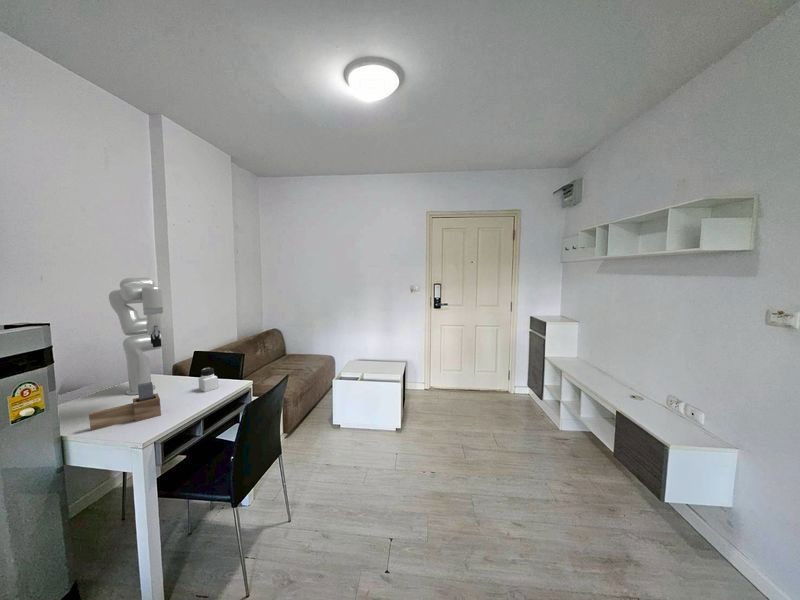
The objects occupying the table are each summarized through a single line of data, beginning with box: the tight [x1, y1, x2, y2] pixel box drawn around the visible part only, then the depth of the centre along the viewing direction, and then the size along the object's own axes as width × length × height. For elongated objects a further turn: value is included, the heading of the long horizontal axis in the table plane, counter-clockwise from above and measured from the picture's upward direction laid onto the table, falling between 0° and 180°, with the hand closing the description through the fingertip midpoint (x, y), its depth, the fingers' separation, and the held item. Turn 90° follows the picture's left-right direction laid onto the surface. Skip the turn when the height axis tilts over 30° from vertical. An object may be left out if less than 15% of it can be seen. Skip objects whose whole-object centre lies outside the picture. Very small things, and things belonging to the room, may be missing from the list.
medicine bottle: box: [198, 367, 219, 393], centre depth 170 cm, size 7×7×12 cm
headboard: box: [88, 392, 162, 432], centre depth 134 cm, size 9×23×8 cm, turn 134°
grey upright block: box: [137, 381, 154, 402], centre depth 138 cm, size 3×5×12 cm, turn 134°
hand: (156, 345), depth 149 cm, fingers open, 9 cm apart
